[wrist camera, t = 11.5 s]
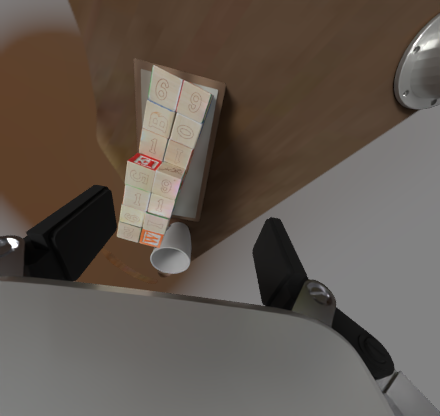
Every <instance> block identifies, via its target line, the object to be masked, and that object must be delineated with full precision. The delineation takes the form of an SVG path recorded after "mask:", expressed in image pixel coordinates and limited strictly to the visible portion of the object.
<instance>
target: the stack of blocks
mask: <svg viewBox="0 0 440 416" xmlns="http://www.w3.org/2000/svg"><path fill="white" fill-rule="evenodd" d="M213 97H214V95H213V94H211V93H209V92H207V91H205V90H203V89H202V88H200V87H198V86H196V85H194V84H192V83H191V82H187V81H185V80H183V79H181V78H179V77H177V76H175V75H173V74H171V73H169V72H167V71H165V70H163V69H161V68H159V67H157V66H155V65H153V68H152V74H151V80H150V86H149V93H148V99H147V102H146V108H145V114H144V121H143V128H142V131H141V138H140V145H139V153H137V154H136V155H135V156H133V157H132V158H130V159H129V160H128V161H127V169H126V177H125V190H124V197H123V204H122V206H121V214H120V221H119V225H118V231H117V237H120V238H123V239H127V240H130V241H134V242H140V243H141V244H145V245H149V246H153V247H157V248H160V246H161V244H162V241H163V238H164V235H165V233H166V230H167V227H168V225H169V221H170V218H171V216H172V213H173V211H174V208H175V206H176V203H177V201H178V198H179V195H180V192H181V189H182V187H183V184H184V181H185V178H186V176H187V173H188V170H189V165H190V162H191V159H192V157H193V154H194V150H195V147H196V144H197V141H198V139H199V138H200V135H201V133H202V130H203V127H204V124H205V121H206V118H207V114H208V112H209V109H210V106H211V103H212V100H213Z"/></svg>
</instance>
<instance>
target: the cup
mask: <svg viewBox="0 0 440 416" xmlns="http://www.w3.org/2000/svg"><path fill="white" fill-rule="evenodd" d="M190 257H191V236H190V232H189V228H188V227H187V225H185V224H184V223H181V222H175V223H173V224H171V225H170V226H169V227H168V228H167V230H166V233H165V235H164V238H163V241H162V244H161V246H160V248H157V247H155V248H154V250H153V252H152V254H151V257H150V259H151V263H152V265H153V266H154V267H155V268H156V269H158V270H160V271H162V272H165V273H180V272H183V271H185V270H186V269H187V268H188V267H189V265H190Z"/></svg>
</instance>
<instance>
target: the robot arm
mask: <svg viewBox="0 0 440 416" xmlns="http://www.w3.org/2000/svg"><path fill="white" fill-rule="evenodd" d="M394 92H395V97H396V98H397V100H398V102H399V103H400V104H401V105H402V106H404V107H406V108H409V109H427V108H431V107H434V106H437V105H439V104H440V13H439V14H438V15H437V16H436V17H434V18H433V19H432V20H431V21H429V22H428V23H427V24H426V25H425V26H424V27H423V28H422V29H421V30H420V32H419V33H418V34H417V35H416V37H415V38H414V39H413V40H412V42H411V43H410V45H409V46H408V48H407V49H406V51H405V53H404V55H403V57H402V59H401V61H400V63H399V65H398V68H397V71H396V75H395V80H394ZM116 228H117V224H116V218H115V211H114V205H113V199H112V193H111V191H110V190H109V189H108V187H105V186H100V185H93V186H92V187H91V188H89V189H88V190H86V191H85V192H83V193H82V194H80V195H79V196H78V197H76V198H75V199H73V200H72V201H70V202H69V203H68V204H66V205H65V206H63V207H62V208H60V209H59V210H57V211H56V212H54V213H53V214H52V215H50V216H49V217H47V218H46V219H44V220H43V221H41V222H40V223H39V224H37V225H36V226H34V227H33V228H31V229H30V230H28V231H27V236H26V237H25V238H21V237H19V236H15V235H14V236H13V235H10V236H9V235H7V236H0V416H440V412H439V411H438V410H437V408H436V407H435V406H434V405H433V404H432V403H431V402H430V401H429V400H428V399H427V398H426V397H425V396H424V395H423V394H422V393H421V392H420V391H419V390H418V389H417V387H416V386H414V384H413V383H412V382H411V381H410V380H409V379H408V378H407V377H406V376H405V375H404V374H403V373H402V372H401V371H399V372H397V371H396V370H395V369H394V363H393V361H392V359H391V356H390V355H389V353H388V352H387V350H386V349H385V348H384V347H383V345H382V344H381V343H380V342H379V341H378V340H377V339H375V338H374V337H373V336H372V335H371V334H369V333H368V332H367V331H366V330H364V329H363V328H362V327H360V326H359V325H358V324H357V323H355V322H354V321H353V320H352V319H350V318H349V317H348V316H346V315H345V314H344V313H343V312H341V311H340V310H339V309H338V308H336V300H335V297H334V295H333V294H332V292H331V291H330V290H329V289H328V288H327V287H326V286H325V285H324V284H322V283H320V282H318V281H316V280H309V279H308V277H307V274H306V272H305V270H304V268H303V266H302V264H301V262H300V260H299V258H298V255H297V253H296V251H295V249H294V247H293V245H292V243H291V241H290V239H289V236H288V234H287V232H286V230H285V228H284V226H283V224H282V222H281V220H280V219H278V218H272V217H271V218H269V219H267V220H266V221H265V224H264V226H263V228H262V230H261V233H260V235H259V237H258V239H257V241H256V243H255V245H254V248H253V258H254V263H255V269H256V273H257V278H258V284H259V289H260V294H261V299H262V303H263V305H265V306H261V305H254V304H247V303H240V302H232V301H225V300H217V299H209V298H202V297H195V296H186V295H179V294H171V293H163V292H155V291H147V290H139V289H131V288H123V287H114V286H106V285H97V284H90V283H81V282H73V281H76V280H77V279H78V278H79V277H80V275H81V274H82V273H83V272H84V270H85V269H86V268H87V267H88V265H89V264H90V263H91V261H92V260H93V259H94V258H95V256H96V255H97V254H98V253H99V251H100V250H101V249H102V248H103V246H104V245H105V244H106V242H107V241H108V240H109V239H110V237H111V236H112V235H113V234H114V232H115V231H116Z"/></svg>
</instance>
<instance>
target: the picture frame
mask: <svg viewBox="0 0 440 416" xmlns="http://www.w3.org/2000/svg"><path fill="white" fill-rule="evenodd" d="M153 65H155V66H157V67H159V68H161V69H163V70H165V71H167V72H169V73H171V74H173V75H175V76H177V77H179V78H181V79H183V80H185V81H187V82H191V83H192V84H194V85H196V86H198V87H200V88H202V89H203V90H205V91H207V92H209V93H211V94H213V95H214V97H213V100H212V103H211V106H210V109H209V112H208V114H207V118H206V121H205V124H204V127H203V130H202V133H201V135H200V138H199V139H198V141H197V144H196V147H195V150H194V154H193V157H192V159H191V162H190V165H189V170H188V173H187V176H186V178H185V181H184V184H183V187H182V189H181V192H180V195H179V198H178V201H177V203H176V206H175V208H174V211H173V213H172V216H171V217H173V218H179V219H185V220H191V221H197V222H199V220H200V215H201V210H202V205H203V200H204V195H205V190H206V185H207V180H208V174H209V169H210V164H211V159H212V154H213V149H214V144H215V139H216V134H217V128H218V123H219V118H220V113H221V108H222V103H223V98H224V93H225V88H226V83H222V82H218V81H215V80H211V79H208V78H204V77H200V76H197V75H193V74H190V73H186V72H182V71H179V70H175V69H172V68H168V67H165V66H161V65H157V64H154V63H150V62H147V61H143V60H139V59H136V58H134V76H135V101H136V127H137V152H138V153H139V145H140V138H141V131H142V128H143V121H144V114H145V108H146V102H147V99H148V93H149V86H150V80H151V74H152V68H153Z"/></svg>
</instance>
